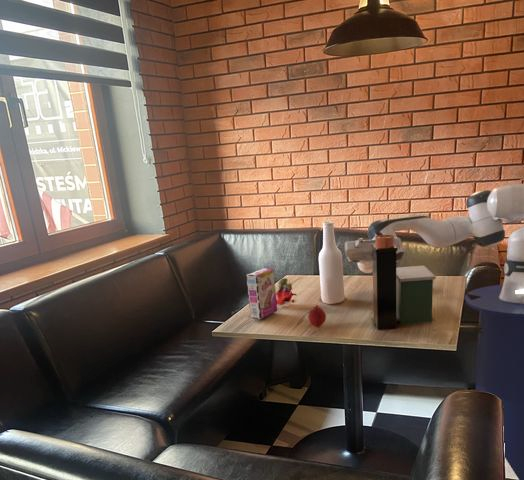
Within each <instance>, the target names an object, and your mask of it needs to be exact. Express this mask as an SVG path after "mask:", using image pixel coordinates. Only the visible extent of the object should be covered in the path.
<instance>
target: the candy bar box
mask: <svg viewBox="0 0 524 480" xmlns="http://www.w3.org/2000/svg"><path fill="white" fill-rule="evenodd" d="M275 279H276V278H275V269H274V268H265V267H264V268H261V269H259V270H256V271H252V272H250V273H247V274H246V285H247V295H248V303H249V304H248V305H249V314H250V319H254V320H262V319H265V318H267V317H268V316H270V315H272V314H274V313H277V312H278V304H277V301H276V300H277V295H276V292H277V291H276V280H275Z"/></svg>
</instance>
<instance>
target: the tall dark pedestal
mask: <svg viewBox="0 0 524 480" xmlns="http://www.w3.org/2000/svg"><path fill="white" fill-rule="evenodd" d="M371 247H372V259H373V272H372V304H373V305H372V308H373V310H372V311H373V312H372V313H373V315H372V317H373V322H374V325H375V328H376V329H377V330H379V331H380V330H383V331H384V330H395V329H397V317H396V268H397V264H396V251H397V247H396V246H395V245H394V247H392V248H376V243H374V244H371Z"/></svg>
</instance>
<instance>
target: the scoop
mask: <svg viewBox="0 0 524 480" xmlns="http://www.w3.org/2000/svg"><path fill="white" fill-rule="evenodd" d="M375 239H376V248H392V247H394V235H383V234H382V233H381V232H378V233H375Z"/></svg>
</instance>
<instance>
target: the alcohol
mask: <svg viewBox="0 0 524 480" xmlns="http://www.w3.org/2000/svg"><path fill="white" fill-rule="evenodd" d="M334 227H335V225H334V222H333V221H325V222H324V221H323V222H322V229H323V231H322V233H323V234H322V236H323V237H322V248H321V250H320V251H319V254H318V269H319V282H320V297H321V301H322V302H323V303H324V304H328V305H333V304H334V305H335V304H340V303H342V302H344V300H345V282H344V281H345V280H344V267H343V266H344V265H343V263H344V262H343V254H342V251H341V250H340V249H339V248H338V246H337V243H336V237H335V228H334Z"/></svg>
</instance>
